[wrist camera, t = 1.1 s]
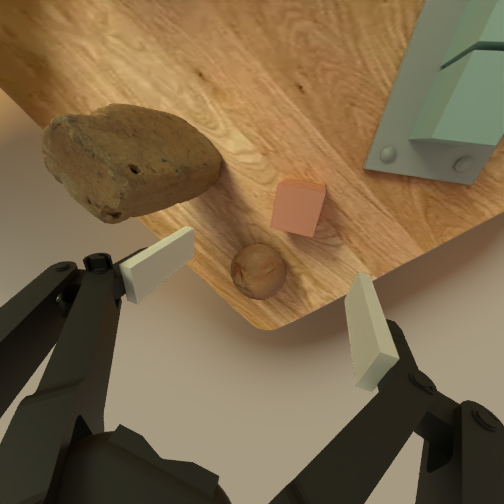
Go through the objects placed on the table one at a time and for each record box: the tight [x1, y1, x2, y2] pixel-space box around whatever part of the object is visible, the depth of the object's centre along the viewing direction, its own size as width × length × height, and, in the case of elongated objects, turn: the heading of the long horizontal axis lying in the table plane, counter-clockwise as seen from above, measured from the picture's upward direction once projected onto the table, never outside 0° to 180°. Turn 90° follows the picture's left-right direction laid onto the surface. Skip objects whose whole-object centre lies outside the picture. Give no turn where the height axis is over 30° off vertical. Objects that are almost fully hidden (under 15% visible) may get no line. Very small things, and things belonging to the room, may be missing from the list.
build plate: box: [363, 0, 504, 185], centre depth 18 cm, size 20×12×7 cm, turn 173°
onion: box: [231, 243, 286, 300], centre depth 35 cm, size 10×9×10 cm
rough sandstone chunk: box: [42, 104, 222, 224], centre depth 25 cm, size 11×8×20 cm
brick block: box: [270, 178, 326, 238], centre depth 29 cm, size 6×6×6 cm
